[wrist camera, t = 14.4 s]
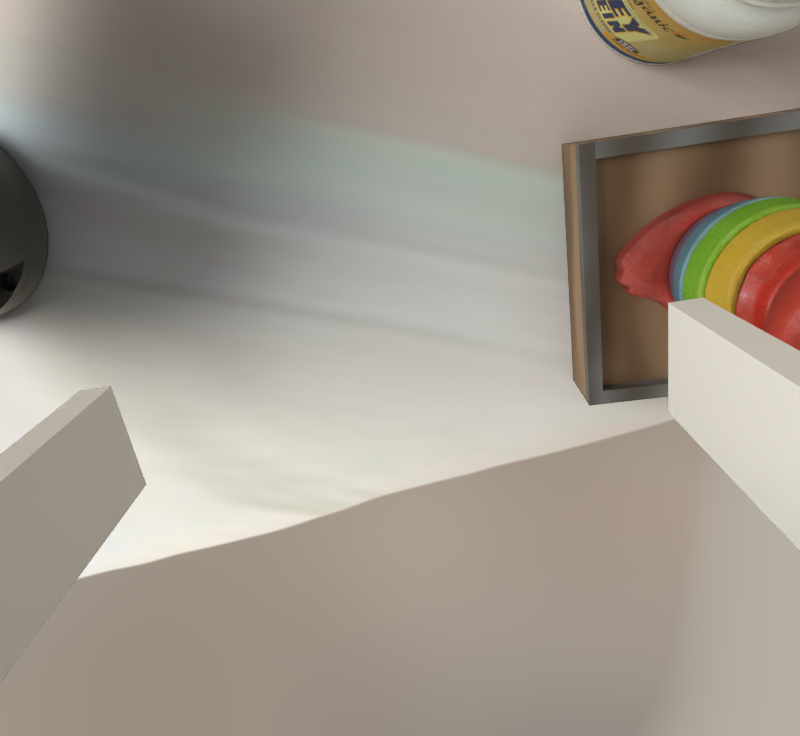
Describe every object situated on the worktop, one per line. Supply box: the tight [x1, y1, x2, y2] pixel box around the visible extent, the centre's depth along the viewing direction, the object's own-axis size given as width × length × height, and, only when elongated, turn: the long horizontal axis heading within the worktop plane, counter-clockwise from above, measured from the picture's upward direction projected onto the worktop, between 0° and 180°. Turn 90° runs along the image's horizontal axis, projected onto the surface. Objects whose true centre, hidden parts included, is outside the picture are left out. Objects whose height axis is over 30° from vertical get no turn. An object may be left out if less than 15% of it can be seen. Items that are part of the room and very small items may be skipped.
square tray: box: [562, 108, 800, 405], centre depth 43 cm, size 18×18×5 cm
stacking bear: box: [615, 192, 800, 351], centre depth 33 cm, size 11×10×18 cm
